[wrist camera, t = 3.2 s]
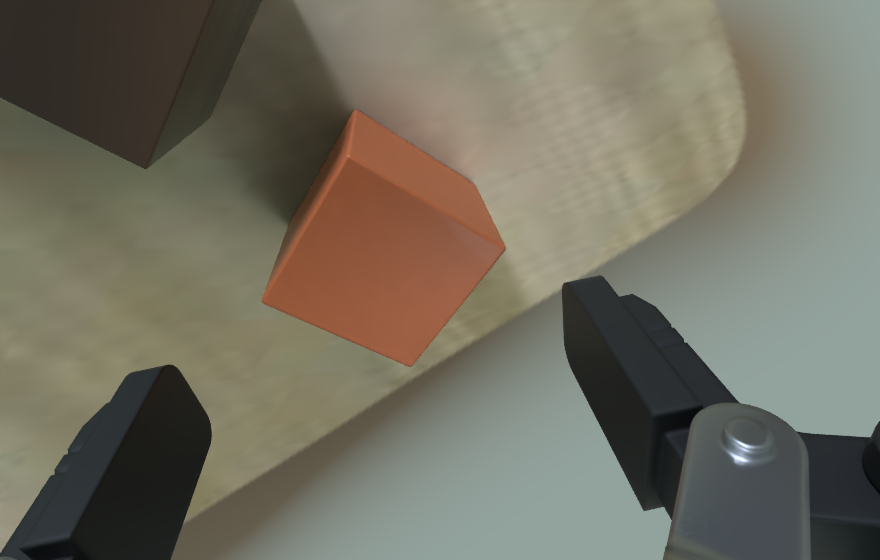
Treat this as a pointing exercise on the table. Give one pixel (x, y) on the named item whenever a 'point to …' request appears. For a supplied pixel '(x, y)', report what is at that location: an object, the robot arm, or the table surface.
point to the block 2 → (383, 244)
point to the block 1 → (121, 66)
